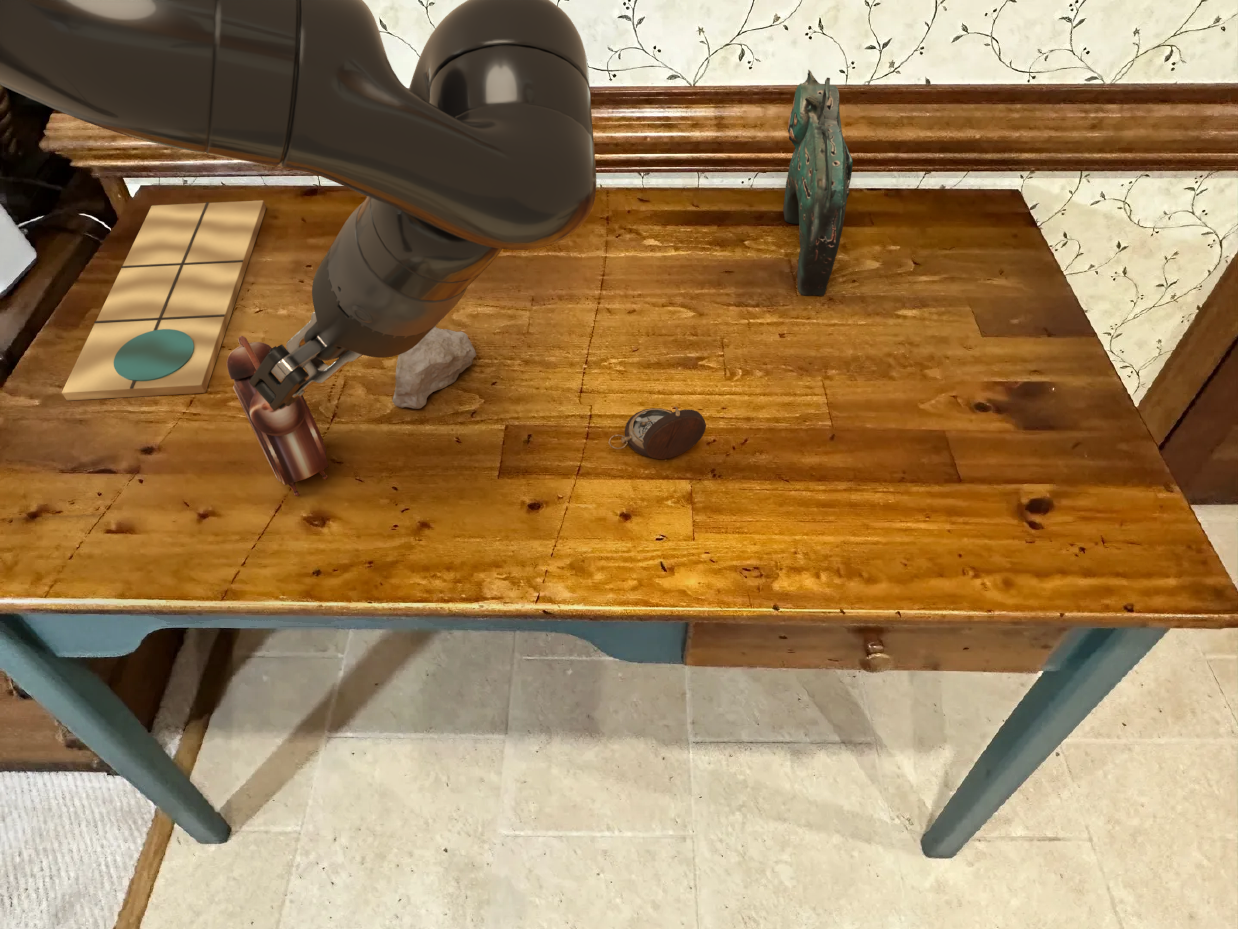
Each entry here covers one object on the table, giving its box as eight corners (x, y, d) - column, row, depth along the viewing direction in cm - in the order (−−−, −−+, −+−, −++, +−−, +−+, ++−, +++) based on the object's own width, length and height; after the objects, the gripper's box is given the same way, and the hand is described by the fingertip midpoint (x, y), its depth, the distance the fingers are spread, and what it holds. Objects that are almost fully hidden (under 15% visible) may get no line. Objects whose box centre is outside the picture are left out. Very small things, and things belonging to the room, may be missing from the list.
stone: (453, 420, 88) (444, 377, 84) (377, 408, 89) (364, 365, 85) (484, 355, 94) (477, 313, 90) (413, 345, 96) (403, 302, 91)
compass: (670, 406, 89) (673, 352, 84) (704, 461, 84) (710, 407, 79) (597, 428, 87) (595, 374, 82) (628, 485, 82) (628, 432, 77)
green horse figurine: (773, 202, 113) (796, 45, 98) (823, 203, 113) (854, 45, 98) (786, 299, 100) (814, 135, 85) (843, 301, 100) (881, 136, 85)
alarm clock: (258, 442, 86) (203, 324, 75) (306, 423, 88) (258, 304, 77) (295, 516, 80) (241, 400, 69) (345, 494, 82) (300, 376, 71)
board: (205, 393, 91) (200, 383, 90) (66, 401, 90) (59, 391, 89) (266, 208, 113) (263, 198, 112) (155, 213, 112) (150, 203, 111)
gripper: (436, 169, 55) (363, 273, 68) (252, 283, 47) (210, 374, 61) (513, 266, 56) (426, 349, 70) (346, 391, 49) (285, 457, 62)
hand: (326, 361), depth 65 cm, fingers open, 8 cm apart
